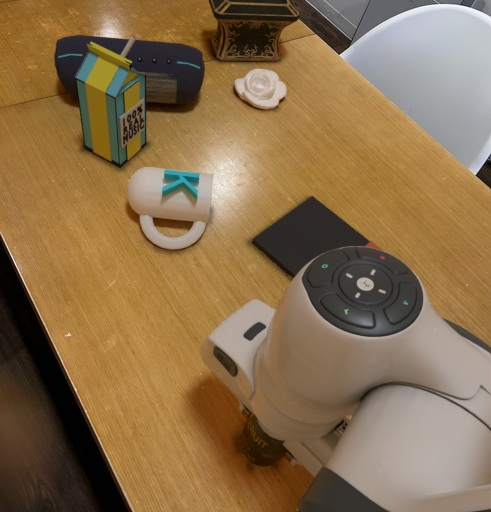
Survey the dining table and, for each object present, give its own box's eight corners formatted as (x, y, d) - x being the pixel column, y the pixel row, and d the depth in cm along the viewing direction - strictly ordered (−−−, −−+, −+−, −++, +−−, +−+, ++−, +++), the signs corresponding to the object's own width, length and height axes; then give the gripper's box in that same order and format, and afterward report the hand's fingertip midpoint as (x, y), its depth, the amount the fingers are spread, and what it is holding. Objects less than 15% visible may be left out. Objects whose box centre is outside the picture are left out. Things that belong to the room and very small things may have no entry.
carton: (151, 142, 83) (151, 42, 68) (121, 168, 78) (115, 67, 64) (114, 123, 84) (107, 21, 70) (84, 148, 80) (69, 44, 65)
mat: (410, 278, 74) (413, 274, 73) (356, 334, 67) (359, 330, 66) (310, 199, 81) (312, 194, 80) (251, 242, 74) (253, 237, 73)
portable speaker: (56, 108, 84) (46, 55, 76) (62, 73, 90) (53, 20, 82) (203, 117, 89) (209, 68, 81) (200, 83, 94) (205, 33, 86)
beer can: (272, 413, 59) (295, 373, 50) (293, 456, 57) (322, 424, 47) (231, 431, 57) (248, 393, 48) (251, 476, 55) (273, 447, 45)
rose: (285, 60, 95) (294, 91, 90) (280, 80, 99) (289, 111, 93) (234, 57, 93) (240, 89, 88) (231, 77, 97) (236, 109, 91)
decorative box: (277, 37, 108) (299, -62, 92) (289, 63, 103) (314, -37, 87) (186, 35, 103) (192, -70, 87) (193, 63, 98) (202, -44, 82)
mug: (126, 150, 67) (215, 161, 68) (132, 175, 76) (210, 184, 77) (115, 234, 64) (207, 243, 66) (122, 249, 73) (203, 257, 74)
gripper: (420, 449, 40) (362, 485, 51) (243, 286, 47) (225, 349, 58) (376, 509, 37) (324, 533, 48) (193, 325, 44) (185, 383, 55)
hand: (269, 431), depth 53 cm, fingers closed on beer can, 5 cm apart
